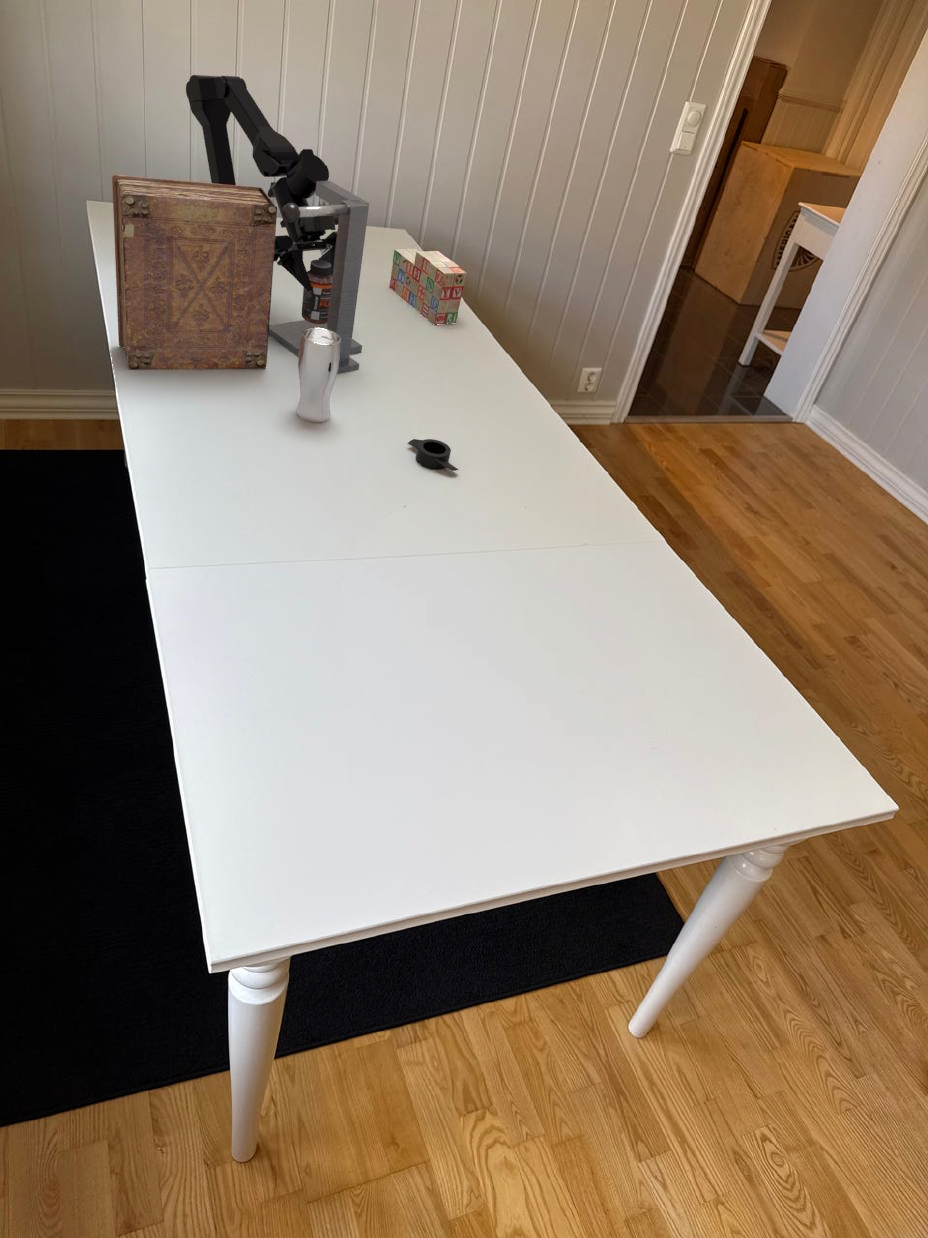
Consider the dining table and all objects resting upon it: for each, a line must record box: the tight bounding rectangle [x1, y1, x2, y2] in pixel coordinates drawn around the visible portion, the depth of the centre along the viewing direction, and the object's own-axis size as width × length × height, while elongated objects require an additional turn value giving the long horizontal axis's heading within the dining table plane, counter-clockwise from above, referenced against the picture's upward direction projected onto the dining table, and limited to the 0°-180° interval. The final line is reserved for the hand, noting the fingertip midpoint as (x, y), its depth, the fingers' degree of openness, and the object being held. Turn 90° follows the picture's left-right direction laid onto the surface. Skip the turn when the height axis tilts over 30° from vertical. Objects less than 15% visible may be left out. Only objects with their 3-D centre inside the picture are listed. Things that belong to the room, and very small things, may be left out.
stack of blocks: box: [389, 248, 467, 326], centre depth 204 cm, size 21×6×12 cm, turn 34°
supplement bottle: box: [301, 259, 333, 324], centre depth 174 cm, size 6×6×11 cm
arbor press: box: [268, 180, 370, 375], centre depth 166 cm, size 20×24×32 cm
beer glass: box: [295, 328, 341, 424], centre depth 154 cm, size 7×7×15 cm
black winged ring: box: [407, 438, 459, 472], centre depth 154 cm, size 8×10×3 cm
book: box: [111, 174, 278, 371], centre depth 156 cm, size 25×9×30 cm, turn 115°
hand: (323, 288), depth 173 cm, fingers closed on supplement bottle, 6 cm apart
